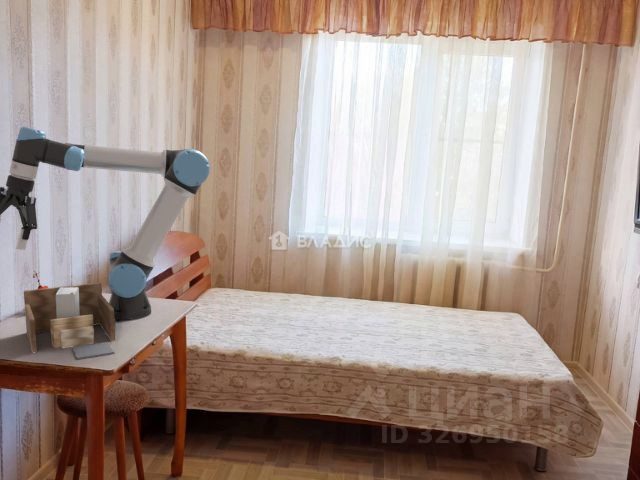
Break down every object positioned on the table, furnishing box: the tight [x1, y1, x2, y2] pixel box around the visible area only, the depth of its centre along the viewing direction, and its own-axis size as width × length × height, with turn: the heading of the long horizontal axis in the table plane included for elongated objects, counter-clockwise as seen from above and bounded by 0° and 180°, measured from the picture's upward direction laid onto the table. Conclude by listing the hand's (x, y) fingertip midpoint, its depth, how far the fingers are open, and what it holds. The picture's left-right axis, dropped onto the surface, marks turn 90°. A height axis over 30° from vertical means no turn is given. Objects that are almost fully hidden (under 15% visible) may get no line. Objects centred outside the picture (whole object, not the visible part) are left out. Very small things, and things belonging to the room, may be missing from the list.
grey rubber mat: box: [72, 341, 115, 360], centre depth 173 cm, size 10×10×1 cm
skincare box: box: [56, 287, 80, 319], centre depth 186 cm, size 8×6×15 cm
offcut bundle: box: [50, 314, 95, 349], centre depth 179 cm, size 12×5×8 cm, turn 120°
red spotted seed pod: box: [32, 270, 49, 289], centre depth 213 cm, size 8×7×15 cm
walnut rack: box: [23, 282, 116, 353], centre depth 185 cm, size 23×21×14 cm
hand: (5, 243), depth 183 cm, fingers open, 13 cm apart
